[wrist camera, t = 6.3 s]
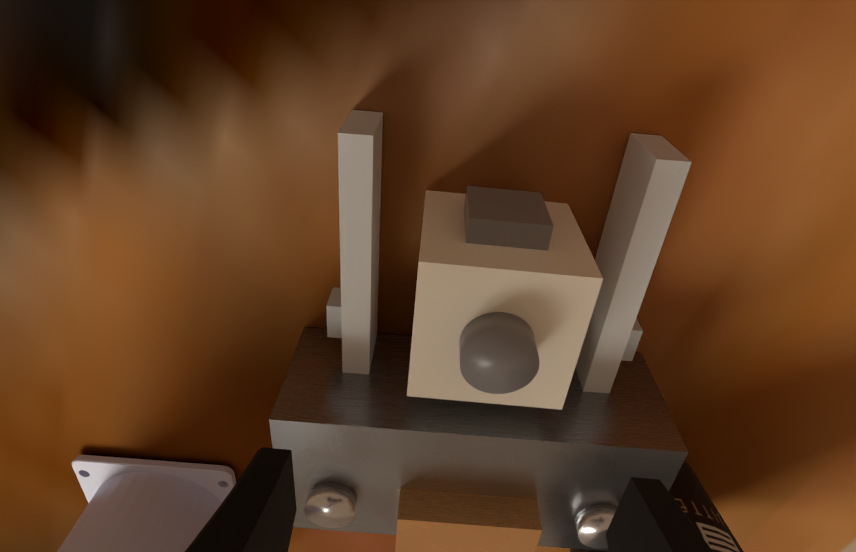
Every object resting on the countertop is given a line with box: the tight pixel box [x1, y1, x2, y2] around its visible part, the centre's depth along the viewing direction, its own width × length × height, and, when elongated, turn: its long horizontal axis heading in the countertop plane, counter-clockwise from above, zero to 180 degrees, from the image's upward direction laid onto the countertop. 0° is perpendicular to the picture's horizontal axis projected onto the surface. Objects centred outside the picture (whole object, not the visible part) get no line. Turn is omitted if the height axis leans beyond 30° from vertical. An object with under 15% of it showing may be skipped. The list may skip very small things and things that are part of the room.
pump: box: [407, 186, 603, 410], centre depth 17 cm, size 6×5×6 cm
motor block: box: [269, 327, 689, 552], centre depth 20 cm, size 6×14×6 cm, turn 86°
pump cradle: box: [326, 110, 692, 393], centre depth 18 cm, size 9×11×2 cm
